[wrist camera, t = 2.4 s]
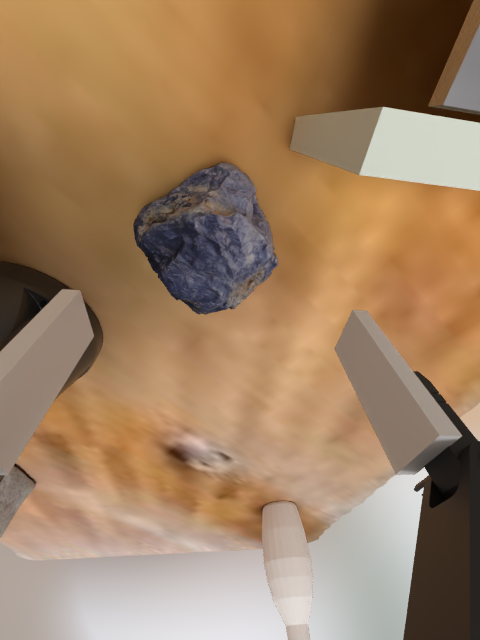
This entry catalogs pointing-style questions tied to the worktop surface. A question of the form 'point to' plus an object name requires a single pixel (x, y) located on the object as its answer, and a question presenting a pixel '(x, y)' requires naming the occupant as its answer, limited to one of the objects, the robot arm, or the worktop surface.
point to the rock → (208, 239)
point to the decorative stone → (13, 495)
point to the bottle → (288, 566)
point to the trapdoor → (462, 69)
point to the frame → (394, 145)
